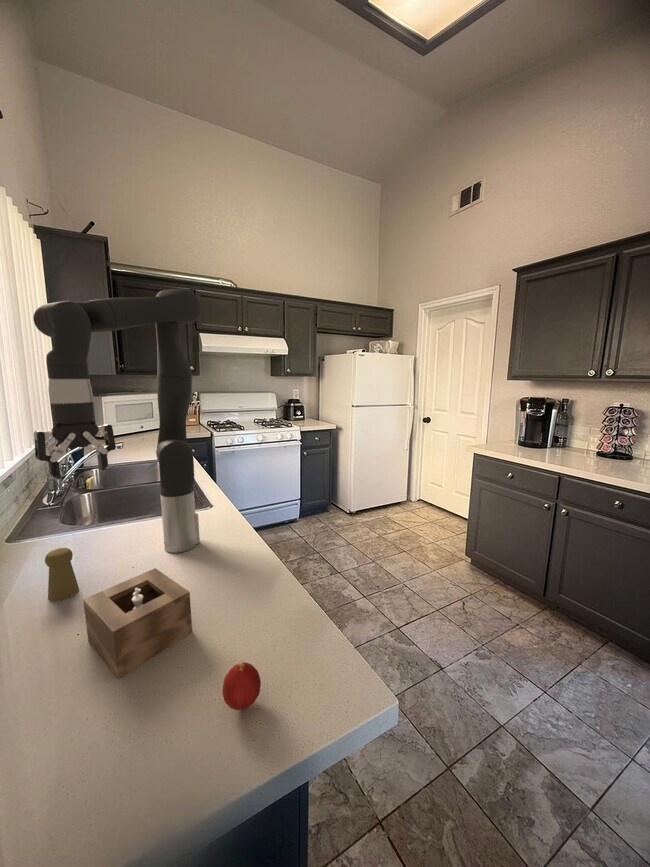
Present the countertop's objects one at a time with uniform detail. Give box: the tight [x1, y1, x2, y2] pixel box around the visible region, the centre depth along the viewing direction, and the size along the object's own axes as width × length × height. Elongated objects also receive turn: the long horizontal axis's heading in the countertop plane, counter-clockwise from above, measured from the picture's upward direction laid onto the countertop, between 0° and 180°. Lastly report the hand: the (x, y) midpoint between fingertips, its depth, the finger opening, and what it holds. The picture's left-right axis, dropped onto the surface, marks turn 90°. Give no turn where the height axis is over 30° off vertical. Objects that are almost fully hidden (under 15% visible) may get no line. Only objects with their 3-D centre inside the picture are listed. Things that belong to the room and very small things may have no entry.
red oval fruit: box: [222, 661, 262, 711], centre depth 54 cm, size 6×6×8 cm
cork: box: [44, 547, 80, 602], centre depth 83 cm, size 6×6×11 cm
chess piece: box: [132, 588, 143, 609], centre depth 69 cm, size 5×5×10 cm
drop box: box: [82, 568, 193, 679], centre depth 69 cm, size 14×14×9 cm
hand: (80, 474), depth 77 cm, fingers open, 8 cm apart
